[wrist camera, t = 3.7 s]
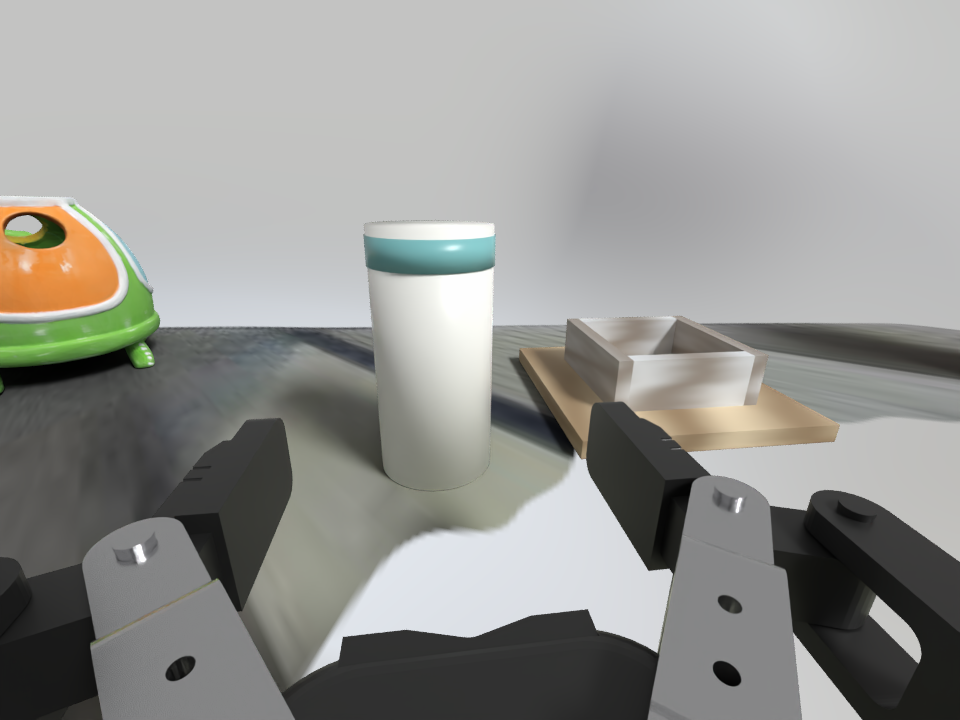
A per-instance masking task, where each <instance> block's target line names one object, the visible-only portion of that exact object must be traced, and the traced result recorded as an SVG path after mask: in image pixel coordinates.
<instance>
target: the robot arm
mask: <svg viewBox="0 0 960 720" xmlns="http://www.w3.org/2000/svg"><path fill="white" fill-rule="evenodd" d="M586 461H587V467H588V471H589V474H590V476H591V478H592V479H593V481H594V483H595V484H596V486H597V488H598V489H599V491H600V492H601V494H602V496H603V497H604V499H605V501H606V502H607V504H608V506H609V507H610V509H611V510H612V512H613V514H614V515H615V517H616V518H617V520H618V522H619V523H620V525H621V527H622V528H623V530H624V531H625V533H626V534H627V536H628V538H629V540H630V541H631V543H632V545H633V546H634V548H635V549H636V551H637V553H638V554H639V556H640V557H641V559H642V561H643V562H644V564H645V566H646V567H647V569H648V570H649V571H651V570H660V569H670V570H671V572H672V573H673V577H672V582H671V587H670V591H669V597H668V601H667V607H666V611H665V616H664V622H663V627H662V632H661V637H660V642H659V647H658V652H657V653H656V652H654V651H653V650H651V649H649V648H648V647H646V646H644V645H642V644H639V643H637V642H635V641H633V640H631V639H628V638H625V637H622V636H620V635H616V634H612V633H608V632H604V631H598V630H596V628H595V626H594V623H593V621H592V619H591V616H590V614H589V611H588V609H587V610H579V611H569V612H560V613H551V614H542V615H534V616H529V617H527V618H524V619H521V620H518V621H516V622H513V623H511V624H508V625H505V626H503V627H500V628H497V629H495V630H492V631H490V632H487V633H484V634H482V635H479V636H476V637H471V638H465V637H457V636H450V635H442V634H434V633H427V632H419V631H411V630H401V631H392V632H384V633H374V634H366V635H357V636H348V637H343V640H342V646H341V652H340V658H339V660H338V661H336V662H333V663H331V664H328V665H326V666H324V667H322V668H320V669H318V670H316V671H314V672H312V673H311V674H309V675H307V676H306V677H304V678H302V679H301V680H299V681H298V682H296V683H295V684H294V685H292V686H291V687H290V688H288V689H287V690H286V691H284V692H283V693H282V694H281V693H280V691H279V689H278V687H277V685H276V683H275V681H274V680H273V678H272V676H271V674H270V672H269V670H268V669H267V667H266V665H265V663H264V661H263V659H262V657H261V656H260V654H259V652H258V650H257V648H256V646H255V644H254V643H253V641H252V639H251V637H250V635H249V633H248V631H247V630H246V628H245V626H244V624H243V622H242V620H241V619H240V617H239V615H238V613H237V612H238V611H242V610H243V608H244V605H245V603H246V601H247V598H248V596H249V594H250V591H251V589H252V586H253V584H254V582H255V579H256V577H257V575H258V572H259V570H260V567H261V565H262V563H263V560H264V558H265V555H266V553H267V551H268V548H269V546H270V544H271V541H272V539H273V536H274V534H275V532H276V529H277V527H278V525H279V522H280V520H281V517H282V515H283V513H284V510H285V508H286V505H287V503H288V501H289V498H290V495H291V491H292V469H291V463H290V456H289V450H288V444H287V438H286V432H285V426H284V423H283V421H282V419H281V418H271V419H252V420H247V421H246V422H245V423H244V424H243V425H242V427H241V428H240V429H239V431H238V432H237V433H236V435H235V436H234V437H233V439H232V440H230V441H222V442H221V443H219V444H218V445H216V446H215V447H213V448H212V449H210V450H209V451H207V452H206V453H204V454H203V456H202V457H201V458H200V459H199V460H198V462H197V463H196V464H195V465H194V466H193V470H190V471H189V473H188V474H187V475H186V476H185V477H184V479H183V482H180V483H179V485H178V486H177V487H176V488H175V490H174V491H173V492H172V493H171V494H170V496H169V497H168V498H167V499H166V501H165V502H164V503H163V504H162V505H161V507H160V508H159V509H158V510H157V511H156V513H155V514H154V515H153V516H152V518H150V519H145V520H141V521H137V522H135V523H132V524H129V525H126V526H124V527H122V528H120V529H118V530H116V531H114V532H112V533H110V534H109V535H107V536H106V537H104V538H103V539H101V540H100V541H99V542H97V543H96V544H95V545H94V546H93V547H92V548H91V549H90V550H89V551H88V553H87V554H86V556H85V557H84V560H83V563H81V564H78V565H75V566H71V567H67V568H64V569H60V570H56V571H53V572H49V573H46V574H42V575H38V576H35V577H31V578H28V579H26V577H25V575H24V573H23V570H22V568H21V566H20V564H19V563H18V561H16V560H14V559H11V558H4V557H0V720H61V718H62V716H63V715H64V713H65V712H66V710H67V708H68V707H69V706H71V705H73V704H76V703H79V702H81V701H84V700H86V699H89V698H92V697H94V696H97V695H99V700H100V706H101V712H102V717H103V720H802V714H801V706H800V695H799V685H798V676H797V667H796V657H795V647H794V638H793V633H794V634H795V635H796V636H797V638H798V639H799V640H800V642H801V643H802V644H803V645H804V647H805V648H806V649H807V651H808V652H809V653H810V654H811V656H812V657H813V658H814V659H815V661H816V662H817V663H818V664H819V666H820V667H821V668H822V669H823V671H824V672H825V673H826V674H827V676H828V677H829V678H830V679H831V680H832V682H833V683H834V685H835V686H836V687H837V688H838V689H839V691H840V692H841V693H842V695H843V696H844V697H845V698H846V700H847V701H848V702H849V703H850V705H851V706H852V707H853V708H854V710H855V711H856V712H857V713H858V715H859V716H860V717H861V719H862V720H960V562H959V561H958V560H956V559H955V558H953V557H952V556H951V555H949V554H948V553H946V552H945V551H944V550H942V549H941V548H939V547H938V546H937V545H935V544H934V543H932V542H931V541H930V540H928V539H927V538H925V537H924V536H922V535H921V534H920V533H918V532H917V531H916V530H914V529H913V528H911V527H910V526H909V525H907V524H906V523H904V522H903V521H901V520H900V519H899V518H897V517H896V516H895V515H893V514H892V513H890V512H889V511H887V510H886V509H884V508H883V507H881V506H879V505H878V504H875V503H874V502H871V501H869V500H867V499H865V498H862V497H859V496H856V495H853V494H849V493H846V492H841V491H833V490H823V491H818V492H816V493H814V494H813V495H812V496H811V499H810V502H809V506H808V508H807V511H804V510H797V509H790V508H781V507H775V506H769V503H768V501H767V499H766V498H765V497H764V496H763V495H762V494H761V493H760V492H758V491H757V490H756V489H754V488H752V487H751V486H749V485H747V484H745V483H743V482H740V481H738V480H735V479H731V478H727V477H722V476H711V475H710V474H709V473H708V472H707V471H706V470H705V469H704V468H703V467H702V466H701V465H700V464H699V463H698V462H696V461H695V460H694V458H692V457H691V456H690V455H689V454H688V453H687V452H686V451H685V450H684V449H681V446H680V445H679V444H678V443H677V442H676V441H675V440H672V437H670V436H669V435H668V434H667V433H666V432H665V431H664V430H663V429H662V428H661V427H660V426H658V425H656V424H654V423H652V422H650V421H648V420H646V419H644V418H639V417H638V416H637V415H636V414H635V413H634V412H633V411H632V410H631V409H630V408H629V407H628V406H627V405H626V404H625V403H624V402H622V401H618V402H598V403H594V404H593V406H592V409H591V415H590V424H589V433H588V442H587V451H586ZM876 595H877V596H878V597H879V598H880V599H881V600H883V601H884V602H885V603H886V604H887V605H888V606H889V607H890V608H891V609H892V610H893V611H894V612H895V613H897V614H898V615H899V616H900V617H901V618H902V619H903V620H904V621H905V622H906V623H907V624H908V625H909V626H910V627H911V629H912V630H913V632H914V633H915V635H916V637H917V638H918V640H919V643H920V647H921V653H922V655H921V660H920V662H919V664H918V663H917V662H915V660H914V659H913V658H912V657H911V656H910V655H909V654H908V653H906V651H905V650H904V649H903V648H902V647H901V646H900V645H899V644H898V643H897V642H896V641H895V640H894V639H893V638H892V637H891V636H890V635H889V634H888V633H886V631H884V629H883V628H882V627H881V626H880V625H879V624H878V623H877V622H876V621H875V620H874V619H872V618H871V617H870V616H869V615H868V614H869V611H870V609H871V607H872V604H873V602H874V600H875V597H876Z"/></svg>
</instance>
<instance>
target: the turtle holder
mask: <svg viewBox="0 0 960 720" xmlns="http://www.w3.org/2000/svg"><path fill="white" fill-rule="evenodd" d="M24 215H30V216H33V217H35V218H36V219H37V220H39V221H40V222H41V224H42V228H41V229H40V231H39V232H37V233H35V234H31V233H29V232H25V231H12V230H6V226H7V224H8V223H9V222H10V221H11V220H12V219H14V218H16V217H19V216H24ZM152 293H153V287H152V286H150V285H149V284H148V281H147V278H146V276H145V274H144V271H143V269H142V268H141V266H140V264H139V262H138V261H137V259H136V257H135V256H134V254H133V253H132V252H131V250H130V249H129V248H128V246H127V245H126V244H125V243H124V242H123V241H122V239H121V238H120V237H119V236H118V235H117V234H116V233H115V232H114V231H112V230H111V229H110V228H109V227H108V226H106V225H105V224H104V223H102V222H101V221H100V220H99V219H97V218H96V217H95V216H94V215H92V214H91V213H90V212H88V211H87V210H85V209H84V208H82V207H81V206H79V205H78V203H77V201H76V200H75V199H74V198H72V197H30V196H29V197H28V196H26V197H25V196H0V368H10V367H26V366H38V365H47V364H55V363H62V362H68V361H74V360H79V359H85V358H89V357H94V356H99V355H103V354H106V353H110V352H113V351H116V350H119V349H122V348H124V347H125V350H126V352H127V354H128V356H129V358H130V360H131V362H132V364H133V365H134V367H135V368H147V367H151V366H153V365H154V363H155V360H154V357H153V354H152V352H151V350H150V349H149V347H148V346H147V345H146V343H145V342H144V341H145V340H146V339H147V337H148V336H150V335H151V334H153V333H154V332H155V331H156V330H157V329H158V327H159V324H160V318H159V315H158V313H157V312H156V311H155V310H154V305H153V299H152ZM3 390H4V385H3V382H2V379H1V375H0V393H1V392H2V391H3Z"/></svg>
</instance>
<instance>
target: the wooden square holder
mask: <svg viewBox="0 0 960 720" xmlns="http://www.w3.org/2000/svg"><path fill="white" fill-rule="evenodd" d="M768 356H769V355H766V354H764V353H762V352H760V351H758V350H755V349H753V348H751V347H749V346H747V345H744V344H742V343H740V342H738V341H735V340H733V339H731V338H729V337H727V336H724V335H722V334H720V333H718V332H716V331H713V330H711V329H709V328H707V327H705V326H702V325H700V324H698V323H696V322H693V321H691V320H689V319H687V318H685V317H682V316H659V317H625V318H624V317H622V318H585V319H567V330H566V342H565V347H544V348H520V354H519V361H520V362H521V364H522V366H523V367H524V369H525V370H526V372H527V374H528V375H529V377H530V378H531V380H532V382H533V383H534V385H535V386H536V388H537V390H538V391H539V393H540V394H541V396H542V398H543V399H544V401H545V402H546V404H547V406H548V407H549V409H550V410H551V412H552V414H553V415H554V417H555V418H556V420H557V422H558V423H559V425H560V426H561V428H562V430H563V431H564V433H565V434H566V436H567V438H568V439H569V441H570V442H571V444H572V445H573V447H574V449H575V450H576V452H577V453H578V455H579V457H580V458H581V459H586V451H587V442H588V433H589V424H590V415H591V409H592V406H593V404H594V403H598V402H618V401H622V402H624V403H625V404H626V405H627V406H628V407H629V408H630V409H631V410H632V411H633V412H634V413H635V414H636V415H637V416H638V417H639V418H644V419H646V420H648V421H650V422H652V423H654V424H656V425H658V426H660V427H661V428H662V429H663V430H664V431H665V432H666V433H667V434H668V435H669V436H670V437H672V440H675V441H676V442H677V443H678V444H679V445H680V446H681V449H684V450H685V451H686V452H692V451H706V450H721V449H735V448H748V447H763V446H778V445H792V444H807V443H821V442H834V441H835V438H836V435H837V433H838V429H839V426H840V425H839V424H837V423H836V422H834V421H832V420H830V419H828V418H826V417H825V416H823V415H821V414H819V413H817V412H815V411H813V410H812V409H810V408H808V407H806V406H804V405H802V404H800V403H799V402H797V401H795V400H793V399H791V398H789V397H787V396H786V395H784V394H782V393H780V392H778V391H776V390H775V389H773V388H771V387H769V386H767V385H765V384H763V383H762V380H763V376H764V372H765V368H766V364H767V360H768Z"/></svg>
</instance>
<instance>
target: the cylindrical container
mask: <svg viewBox="0 0 960 720" xmlns="http://www.w3.org/2000/svg"><path fill="white" fill-rule="evenodd" d="M364 231H365V234H364V247H365V260H366V267H367V268H368V282H369V294H370V307H371V320H372V333H373V345H374V358H375V371H376V384H377V396H378V409H379V422H380V435H381V447H382V460H383V468H384V471H385V473H386V474H387V475H388V477H389V478H391V479H392V480H393V481H395V482H396V483H398V484H400V485H402V486H405V487H408V488H411V489H416V490H423V491H442V490H449V489H454V488H458V487H461V486H464V485H466V484H469V483H471V482H473V481H474V480H476V479H477V478H479V477H480V476H481V475H482V474H483V473H484V472H485V471H486V469H487V468H488V466H489V462H490V426H491V375H492V322H493V273H494V266H495V234H494V224H492V223H484V222H469V221H468V222H467V221H383V222H371V223H365V224H364Z"/></svg>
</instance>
